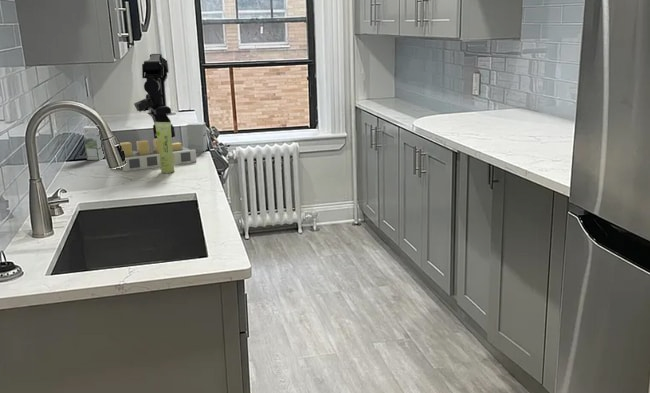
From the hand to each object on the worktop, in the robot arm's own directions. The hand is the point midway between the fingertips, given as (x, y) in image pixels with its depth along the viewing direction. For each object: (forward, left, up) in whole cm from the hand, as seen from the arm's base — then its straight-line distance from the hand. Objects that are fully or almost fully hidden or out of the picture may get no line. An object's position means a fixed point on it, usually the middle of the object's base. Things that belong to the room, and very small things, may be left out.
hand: (158, 129), depth 256 cm
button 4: (0, -14, -11) cm, 17 cm away
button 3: (0, -7, -11) cm, 13 cm away
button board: (0, -3, -13) cm, 14 cm away
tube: (+23, -4, -14) cm, 27 cm away
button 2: (0, 0, -11) cm, 11 cm away
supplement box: (-11, +21, -14) cm, 27 cm away
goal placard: (+11, -3, -13) cm, 17 cm away
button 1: (0, +7, -13) cm, 15 cm away
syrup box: (-20, -22, -14) cm, 33 cm away
